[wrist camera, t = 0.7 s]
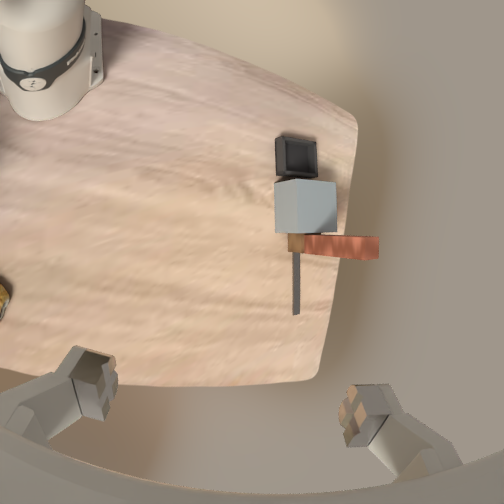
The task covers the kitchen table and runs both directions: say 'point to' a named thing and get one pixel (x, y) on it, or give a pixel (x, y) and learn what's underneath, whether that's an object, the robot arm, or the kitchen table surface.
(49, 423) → the robot arm
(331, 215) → the tunnel
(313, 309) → the kitchen table surface
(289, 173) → the dark grey tray
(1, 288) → the pastry
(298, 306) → the rail
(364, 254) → the upright post on base
